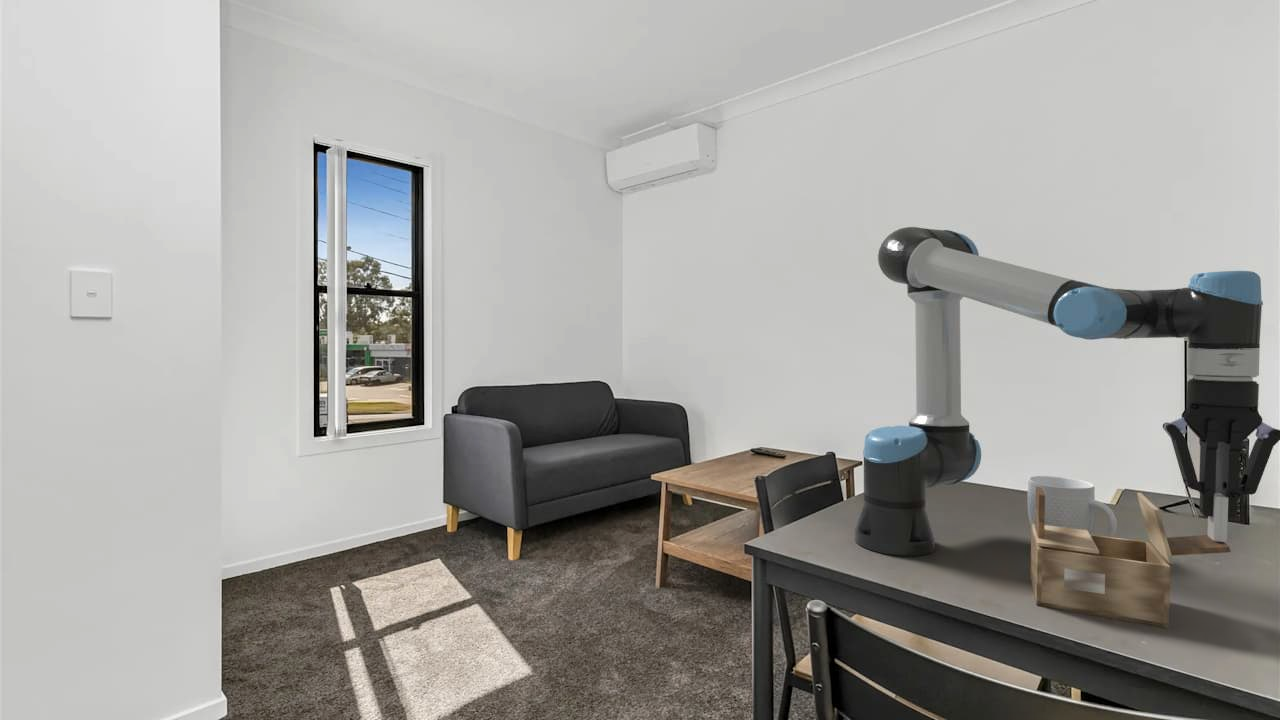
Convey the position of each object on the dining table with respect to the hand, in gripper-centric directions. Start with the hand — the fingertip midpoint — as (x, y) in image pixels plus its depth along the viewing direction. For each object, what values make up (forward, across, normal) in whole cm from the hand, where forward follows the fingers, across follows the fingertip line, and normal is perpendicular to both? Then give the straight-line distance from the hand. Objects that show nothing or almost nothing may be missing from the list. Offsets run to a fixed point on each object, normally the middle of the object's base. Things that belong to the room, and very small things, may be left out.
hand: (1217, 538), depth 89 cm
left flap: (+3, -19, 0) cm, 19 cm away
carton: (+12, -14, 0) cm, 19 cm away
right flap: (-1, -7, 0) cm, 7 cm away
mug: (+13, -15, +28) cm, 34 cm away
